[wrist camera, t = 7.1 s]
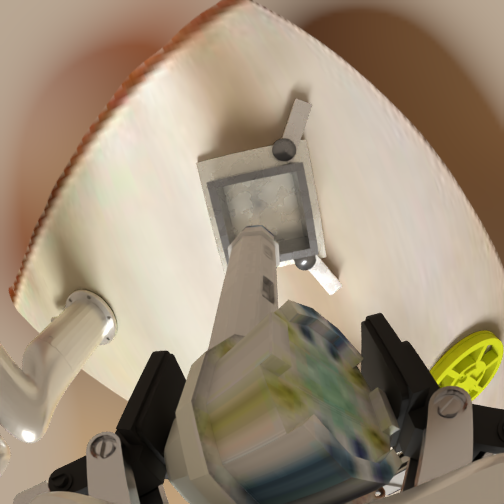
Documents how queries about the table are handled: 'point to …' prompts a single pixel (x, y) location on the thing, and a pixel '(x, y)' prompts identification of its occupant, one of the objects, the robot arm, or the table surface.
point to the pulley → (470, 363)
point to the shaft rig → (270, 198)
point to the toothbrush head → (276, 401)
